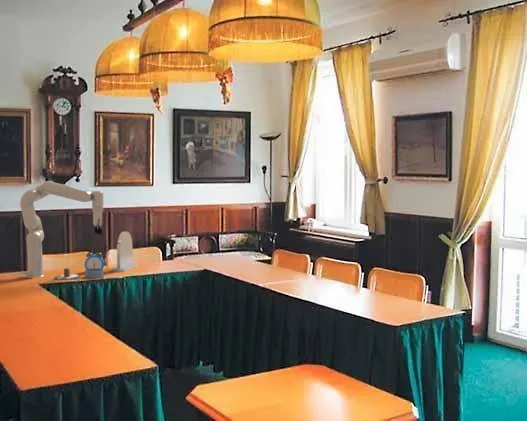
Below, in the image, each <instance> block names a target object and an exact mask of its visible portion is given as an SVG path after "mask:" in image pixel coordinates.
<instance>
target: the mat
mask: <svg viewBox="0 0 527 421" xmlns="http://www.w3.org/2000/svg"><path fill="white" fill-rule="evenodd" d="M77 275H78V276H79V277H78V278H76V279H69V280H68V281H72V280H73V281H74V280H77V281H79V280H80V279H81V275H82V274H77ZM52 281H60V280H59V279H55V276H54V277H53V278H52Z"/></svg>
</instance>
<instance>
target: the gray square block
mask: <svg viewBox="0 0 527 421" xmlns="http://www.w3.org/2000/svg"><path fill="white" fill-rule="evenodd" d="M104 271H105V270H104V268H103V269H101V268H92V269H86V268H85V270H84V276H85V279H92V280H93V279H100V280H102V279H104V278H105V272H104Z"/></svg>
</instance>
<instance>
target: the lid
mask: <svg viewBox="0 0 527 421" xmlns="http://www.w3.org/2000/svg"><path fill="white" fill-rule="evenodd" d="M70 272H71V270H70V268H63V274H58V275H55V276H54V277H55V279H59V280H58V281H70V280H69V279H76V278H78V277H79V276H78V275H79V274H73V273H72V274H71V273H70Z"/></svg>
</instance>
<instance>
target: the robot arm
mask: <svg viewBox="0 0 527 421" xmlns="http://www.w3.org/2000/svg"><path fill="white" fill-rule="evenodd" d="M49 195H51V196H57V197H60V198H64V199H69V200H73V201H78V202H82V203H87V202H91V208H92V210H91V211H92V212H93V215H92V217H93V218H92V219H93V220H92V224H93V226H94V233H95V234H96V235H102V234H103V232H102V231H103V230H102V229H103V228H102V225H103V212H104V192H103V191H101V190H93V191H92V190H81V189H77V188H74V187H71V186H69V185H66V184H63V183H57V182H54V181H53V180H47V181H43V183H42V184H40V185H39V186H36V187H35V188H32V189H31V188H30V189H29V190H26V191H25V192H24V193H23V194H22V196H21V197H20V202H19V203H20V204H19V205H20V210H21V214H22V221H23V223H24V224H23V225H24V226H25V228H26V229H27V230H28V234H27V236H26V249H27V252H26V253H27V270H26V271H24V270H23V271H20V272H21V275H25V278H26V279H33V278H39V277H44V276H45V275H46V273H45V274H44V272H43V271H44V270H43V267H44V266H43V264H44V263H43V243H42V242H43V240H44V239H45V233H44V229H43V225H42V224H43V223H42V220H41V217H39V215H37V214H36V209H35V206H34V203H35V202H37V201H38V202H39V201H40V200H42V199H43V198H46V197H47V196H49Z"/></svg>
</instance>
